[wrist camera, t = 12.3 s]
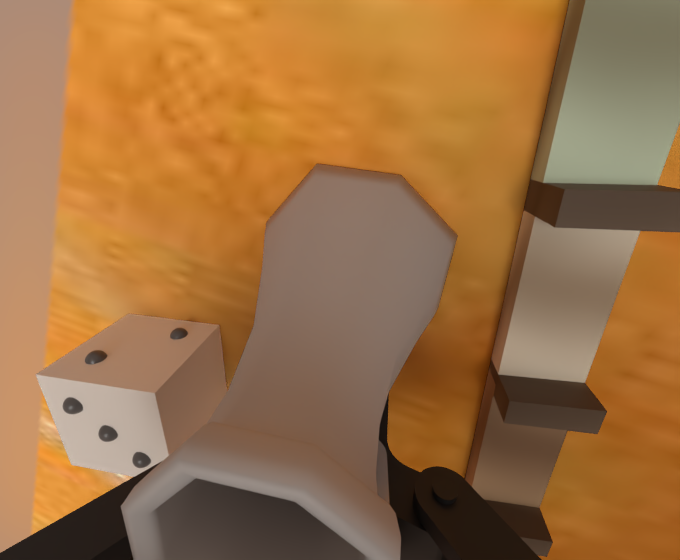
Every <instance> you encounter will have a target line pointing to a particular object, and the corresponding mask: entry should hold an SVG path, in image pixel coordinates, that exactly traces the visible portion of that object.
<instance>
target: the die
mask: <svg viewBox="0 0 680 560" xmlns="http://www.w3.org/2000/svg"><path fill="white" fill-rule="evenodd" d="M36 377H37V379H38V382H39V385H40V387H41V390H42V392H43V395H44V397H45V400H46V402H47V405H48V407H49V410H50V412H51V415H52V417H53V420H54V422H55V425H56V427H57V430H58V432H59V435H60V437H61V440H62V442H63V445H64V447H65V450H66V452H67V455H68V457H69V460H70V462H71V465H75V466H81V467H86V468H91V469H96V470H101V471H107V472H112V473H117V474H122V475H127V476H133V477H135V476H137V475H138V474H140V473H142V472H144V471H145V470H147V469H149V468H151V467H152V466H154V465H156V464H158V463H160V462H161V461H163V460H164V459H165V458H167V457H168V456H169V455H170V454H171V453H172V452H174V451H175V450H176V449H177V448H178V447H179V446H180V445H182V444H183V443H184V442H185V441H186V440H187V439H188V438H190V437H191V436H192V435H193V434H194V433H195V432H196V431H198V430H199V429H200V428H201V427H202V426H203V425H204V424H206V423H207V422H208V421H209V419H210V417H211V416H212V414H213V413H214V411H215V410H216V408H217V407H218V405H219V403H220V402H221V400H222V399H223V397H224V396H225V394H226V392H227V386H226V378H225V369H224V360H223V351H222V343H221V334H220V325H216V324H208V323H200V322H192V321H184V320H177V319H169V318H161V317H153V316H145V315H137V314H127V315H126V316H124V317H123V318H121V319H120V320H118V321H117V322H115V323H113V324H112V325H110V326H109V327H107V328H106V329H104V330H103V331H101V332H100V333H98V334H97V335H95V336H94V337H92V338H91V339H89V340H88V341H86V342H84V343H83V344H81V345H80V346H78V347H77V348H75V349H74V350H72V351H71V352H69V353H68V354H66V355H65V356H63V357H62V358H60V359H59V360H57V361H55V362H54V363H52V364H51V365H49V366H48V367H46V368H45V369H43V370H42V371H40V372H39V373H37V374H36Z"/></svg>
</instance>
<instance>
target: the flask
mask: <svg viewBox="0 0 680 560" xmlns="http://www.w3.org/2000/svg"><path fill="white" fill-rule="evenodd" d="M457 237H458V235H457V234H456V233H455V232H454V231H453V230H452V229H451V228H450V227H449V226H448V225H447V224H446V223H445V222H444V221H443V219H442V218H441V217H440V216H439V215H438V214H437V213H436V212H435V211H434V210H433V209H432V208H431V207H430V206H429V204H428V203H427V202H426V201H425V200H424V199H423V198H422V197H421V196H420V195H419V194H418V193H417V192H416V191H415V190H414V188H413V187H412V186H411V185H410V184H409V183H408V182H407V181H406V180H405V179H404V178H403V177H402V176H401V175H396V174H389V173H381V172H374V171H367V170H360V169H352V168H345V167H338V166H331V165H323V164H316V165H315V166H314V168H313V169H312V170H311V171H310V172H309V173H308V175H307V176H306V177H305V178H304V179H303V180H302V181H301V183H300V184H299V185H298V186H297V187H296V188H295V190H294V191H293V192H292V193H291V194H290V195H289V197H288V198H287V199H286V200H285V201H284V202H283V203H282V205H281V206H280V207H279V208H278V209H277V210H276V212H275V213H274V214H273V215H272V216H271V217H270V219H269V220H268V221H267V223H266V229H265V240H264V253H263V266H262V273H261V280H260V286H259V293H258V300H257V306H256V313H255V320H254V326H253V329H252V331H251V334H250V336H249V339H248V341H247V344H246V346H245V349H244V351H243V354H242V356H241V359H240V361H239V364H238V367H237V369H236V372H235V374H234V377H233V379H232V382H231V384H230V387H229V389H228V391H227V392H226V394H225V396H224V397H223V399H222V400H221V402H220V403H219V405H218V407H217V408H216V410H215V411H214V413H213V414H212V416H211V417H210V419H209V421H208V422H207V423H206V424H204V425H203V426H202V427H201V428H200V429H199V430H198V431H196V432H195V433H194V434H193V435H192V436H191V437H190V438H188V439H187V440H186V441H185V442H184V443H183V444H182V445H180V446H179V447H178V448H177V449H176V450H175V451H174V452H172V453H171V454H170V455H169V456H168V457H167V458H165V459H164V460H163V461H162V462H161V463H160V464H159V465H157V466H156V467H155V468H154V469H153V470H152V471H151V472H150V473H149V474H147V475H146V476H145V477H144V478H143V479H142V480H141V481H140V482H139V483H138V484H137V485H136V486H135V487H134V488H133V489H132V491H131V492H130V494H129V495H128V497H127V498H126V500H125V501H124V503H123V504H122V505H121V510H122V514H123V518H124V522H125V527H126V531H127V535H128V539H129V543H130V547H131V551H132V555H133V560H400V552H401V534H400V530H399V526H398V521H397V517H396V513H395V512H394V510H393V509H392V507H391V506H390V505H389V504H388V503H387V502H386V501H384V500H383V499H382V498H381V497H379V496H378V495H377V481H376V466H377V453H378V440H379V427H380V422H381V418H382V414H383V411H384V407H385V404H386V400H387V397H388V393H389V391H390V389H391V387H392V385H393V383H394V382H395V380H396V378H397V376H398V374H399V373H400V371H401V369H402V367H403V365H404V364H405V362H406V360H407V358H408V356H409V355H410V353H411V351H412V349H413V347H414V345H415V344H416V342H417V340H418V339H419V337H420V336H421V334H422V333H423V331H424V330H425V328H426V327H427V325H428V324H429V322H430V321H431V319H432V318H433V316H434V315H435V313H436V311H437V309H438V307H439V303H440V299H441V296H442V292H443V288H444V285H445V281H446V277H447V274H448V270H449V266H450V262H451V259H452V255H453V251H454V248H455V244H456V240H457Z"/></svg>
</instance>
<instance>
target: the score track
mask: <svg viewBox="0 0 680 560" xmlns="http://www.w3.org/2000/svg"><path fill="white" fill-rule="evenodd" d="M679 123H680V0H570V1H569V6H568V10H567V15H566V19H565V24H564V28H563V33H562V38H561V42H560V47H559V51H558V56H557V60H556V65H555V70H554V74H553V79H552V83H551V88H550V92H549V97H548V102H547V106H546V111H545V115H544V120H543V124H542V129H541V134H540V138H539V143H538V147H537V152H536V156H535V161H534V166H533V170H532V175H531V179H530V184H529V189H528V193H527V198H526V202H525V207H524V211H523V216H522V221H521V225H520V230H519V234H518V239H517V243H516V248H515V253H514V257H513V262H512V266H511V271H510V275H509V280H508V285H507V289H506V294H505V298H504V303H503V307H502V312H501V317H500V321H499V326H498V330H497V335H496V339H495V344H494V349H493V353H492V358H491V362H490V367H489V371H488V376H487V381H486V385H485V390H484V394H483V399H482V403H481V408H480V413H479V417H478V422H477V426H476V431H475V435H474V440H473V445H472V449H471V454H470V458H469V463H468V467H467V472H466V477H465V480H466V481H467V482H468V483H469V484H470V485H471V487H472V488H473V489H474V490H475V491H476V492H477V493H478V494H479V495H480V496H481V497H482V498H483V499H484V500H485V501H486V502H487V503H488V504H489V505H490V506H491V507H492V508H493V510H494V511H495V512H496V513H497V514H498V515H499V516H500V517H501V518H502V519H503V520H504V521H505V522H506V523H507V524H508V525H509V526H510V527H511V528H512V529H513V530H514V532H515V533H516V534H517V535H518V536H519V537H520V538H521V539H522V540H523V541H524V542H525V543H526V544H527V545H528V546H529V547H530V548H531V549H532V550H533V551H534V552H535V553H536V555H539V556H545V557H547V555H548V552H549V550H550V548H551V545H552V543H553V542H552V539H551V536H550V534H549V531H548V529H547V526H546V524H545V521H544V518H543V516H542V513H541V511H540V508H539V507H540V505H541V502H542V499H543V496H544V494H545V491H546V488H547V485H548V483H549V480H550V477H551V474H552V472H553V469H554V466H555V463H556V461H557V458H558V455H559V452H560V450H561V447H562V444H563V441H564V439H565V436H566V433H567V431H576V432H584V433H593V434H598V432H599V429H600V427H601V425H602V422H603V420H604V417H605V415H606V413H607V411H606V410H605V408H604V407H603V406H602V404H601V403H600V402H599V401H598V399H597V398H596V397H595V395H594V394H593V393H592V391H591V390H590V389H589V388H588V386H587V385H586V384H585V381H586V378H587V376H588V373H589V370H590V367H591V365H592V362H593V359H594V356H595V354H596V351H597V348H598V345H599V343H600V340H601V337H602V334H603V332H604V329H605V326H606V324H607V321H608V318H609V315H610V313H611V310H612V307H613V304H614V302H615V299H616V296H617V293H618V291H619V288H620V285H621V282H622V280H623V277H624V274H625V271H626V269H627V266H628V263H629V260H630V258H631V255H632V252H633V249H634V247H635V244H636V241H637V239H638V236H639V233H640V231H660V232H680V189H676V188H671V187H665V186H659V185H657V184H658V181H659V178H660V175H661V173H662V170H663V167H664V164H665V162H666V159H667V156H668V154H669V151H670V148H671V145H672V143H673V140H674V137H675V134H676V132H677V129H678V126H679Z"/></svg>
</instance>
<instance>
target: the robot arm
mask: <svg viewBox="0 0 680 560" xmlns="http://www.w3.org/2000/svg"><path fill="white" fill-rule="evenodd" d="M388 395H389V393H388ZM387 424H388V397H387V400H386V404H385V407H384V411H383V414H382V418H381V422H380V427H379V440H378V453H377V466H376V481H377V495H378V496H379V497H381V498H382V499H383V500H384V501H386V502H387V503H388V504H389V505H390V506H391V507H392V509H393V510H394V512H395V513H396V517H397V521H398V526H399V530H400V534H401V552H400V560H541V559H540V558H539V557H538V556H537V555H536V553H535V552H534V551H533V550H532V549H531V548H530V547H529V546H528V545H527V544H526V543H525V542H524V541H523V540H522V539H521V538H520V537H519V536H518V535H517V534H516V533H515V532H514V530H513V529H512V528H511V527H510V526H509V525H508V524H507V523H506V522H505V521H504V520H503V519H502V518H501V517H500V516H499V515H498V514H497V513H496V512H495V511H494V510H493V508H492V507H491V506H490V505H489V504H488V503H487V502H486V501H485V500H484V499H483V498H482V497H481V496H480V495H479V494H478V493H477V492H476V491H475V490H474V489H473V488H472V487H471V485H470V484H469V483H468V482H467V481H466V480H465V479H464V478H463V477H462V476H460V475H459V474H458V473H456V472H454V471H452V470H450V469H448V468H444V467H430V468H427V469H425V470H423V471H422V472H421V473H420V472H418V471H416V470H414V469H411V468H409V467H407V466H405V465H403V464H402V463H401V462H399V461H398V460H397V459H396V458H395V457H394V456H393V455H392V453H391V451H390V449H389V447H388V444H387ZM161 462H162V461H161ZM161 462H160V463H161ZM160 463H158V464H156V465H154V466H152V467H151V468H149V469H147V470H145V471H144V472H142V473H140V474H138V475H137V476H135V477H133V478H131V479H130V480H128V481H126V482H124V483H123V484H121V485H119V486H117V487H116V488H114V489H112V490H110V491H108V492H107V493H105V494H103V495H101V496H100V497H98V498H96V499H94V500H93V501H91V502H89V503H87V504H86V505H84V506H82V507H80V508H79V509H77V510H75V511H73V512H72V513H70V514H68V515H66V516H64V517H63V518H61V519H59V520H57V521H56V522H54V523H52V524H50V525H49V526H47V527H45V528H43V529H42V530H40V531H38V532H36V533H35V534H33V535H31V536H29V537H28V538H26V539H24V540H22V541H21V542H19V543H17V544H15V545H13V546H12V547H10V548H8V549H6V550H5V551H3V552H1V553H0V560H133V555H132V551H131V547H130V543H129V539H128V535H127V531H126V527H125V522H124V518H123V514H122V510H121V505H122V504H123V503H124V501H125V500H126V498H127V497H128V495H129V494H130V492H131V491H132V489H133V488H134V487H135V486H136V485H137V484H138V483H139V482H140V481H141V480H142V479H143V478H144V477H145V476H146V475H147V474H149V473H150V472H151V471H152V470H153V469H154V468H155V467H156V466H157V465H159V464H160Z"/></svg>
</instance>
